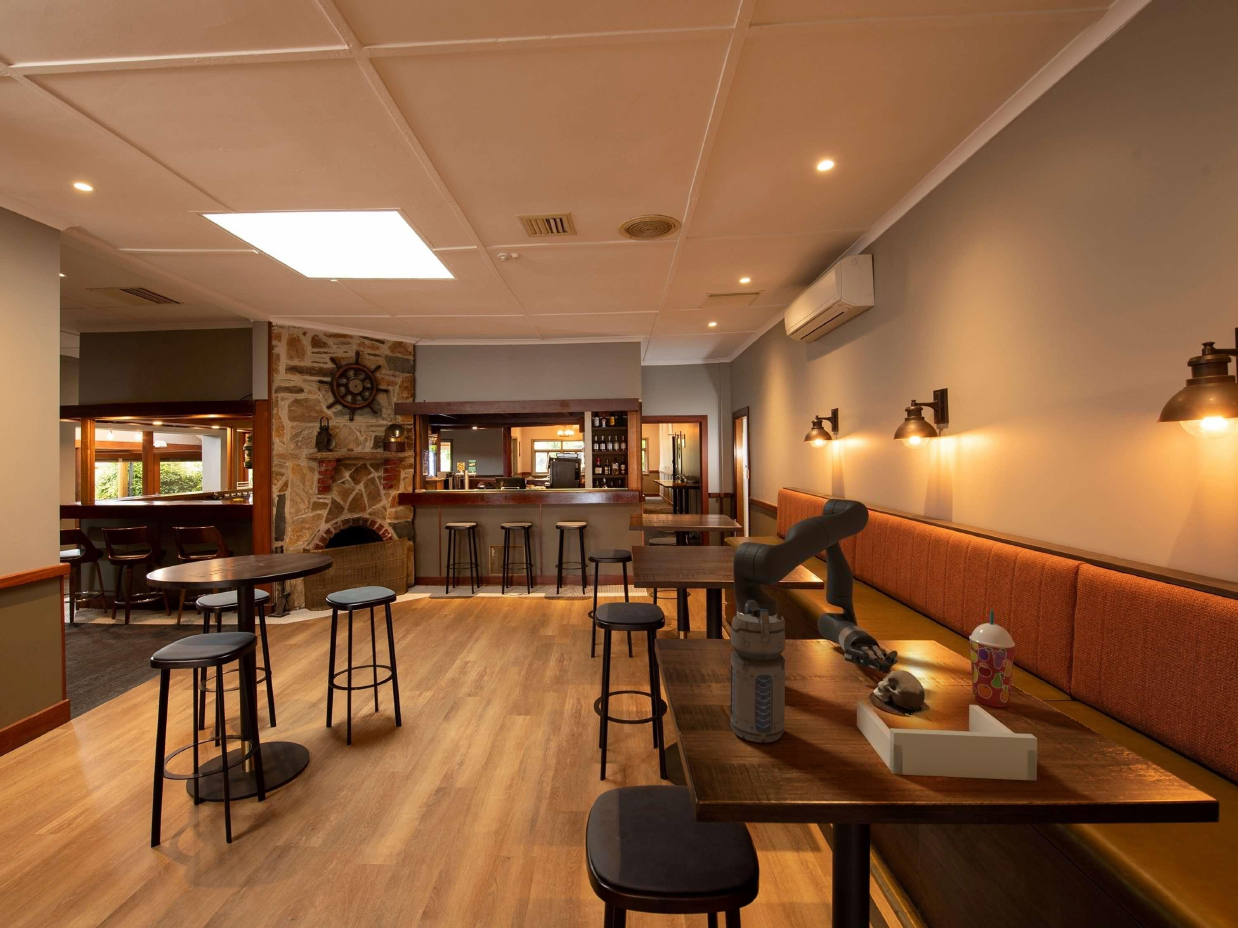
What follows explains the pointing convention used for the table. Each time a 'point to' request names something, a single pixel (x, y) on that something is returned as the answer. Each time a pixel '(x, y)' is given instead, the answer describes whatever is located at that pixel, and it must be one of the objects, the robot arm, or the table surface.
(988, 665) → the smoothie
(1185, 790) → the table surface
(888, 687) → the skull
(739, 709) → the beverage bottle
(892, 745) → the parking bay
